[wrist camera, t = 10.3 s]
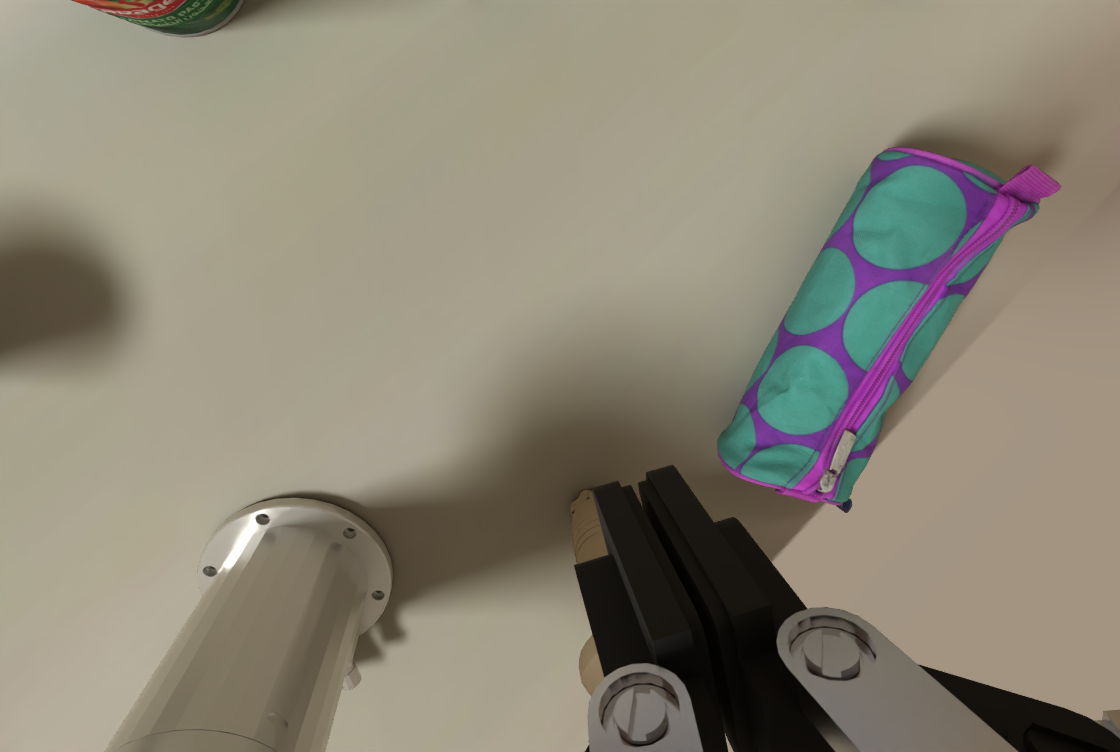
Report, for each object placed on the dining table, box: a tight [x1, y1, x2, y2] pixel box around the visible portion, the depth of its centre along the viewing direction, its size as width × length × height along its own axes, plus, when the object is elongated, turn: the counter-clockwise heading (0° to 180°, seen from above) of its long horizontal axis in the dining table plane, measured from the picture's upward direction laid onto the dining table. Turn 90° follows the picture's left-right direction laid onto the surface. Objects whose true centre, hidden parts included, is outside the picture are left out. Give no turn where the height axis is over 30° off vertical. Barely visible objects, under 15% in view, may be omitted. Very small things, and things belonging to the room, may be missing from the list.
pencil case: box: [717, 147, 1061, 513], centre depth 34 cm, size 21×9×10 cm, turn 158°
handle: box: [570, 489, 608, 697], centre depth 35 cm, size 5×6×15 cm
